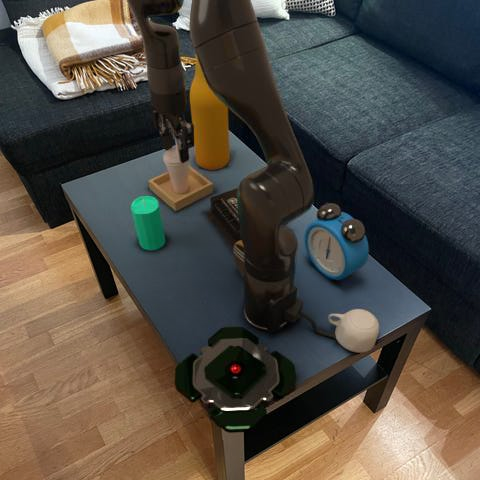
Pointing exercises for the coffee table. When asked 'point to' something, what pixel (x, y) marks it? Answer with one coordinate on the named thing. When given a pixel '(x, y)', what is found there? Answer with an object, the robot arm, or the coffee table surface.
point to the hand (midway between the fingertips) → (176, 154)
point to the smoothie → (177, 170)
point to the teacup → (356, 330)
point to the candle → (148, 222)
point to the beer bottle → (208, 124)
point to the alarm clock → (336, 242)
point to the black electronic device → (226, 216)
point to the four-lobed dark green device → (235, 378)
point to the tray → (179, 200)
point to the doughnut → (239, 256)
